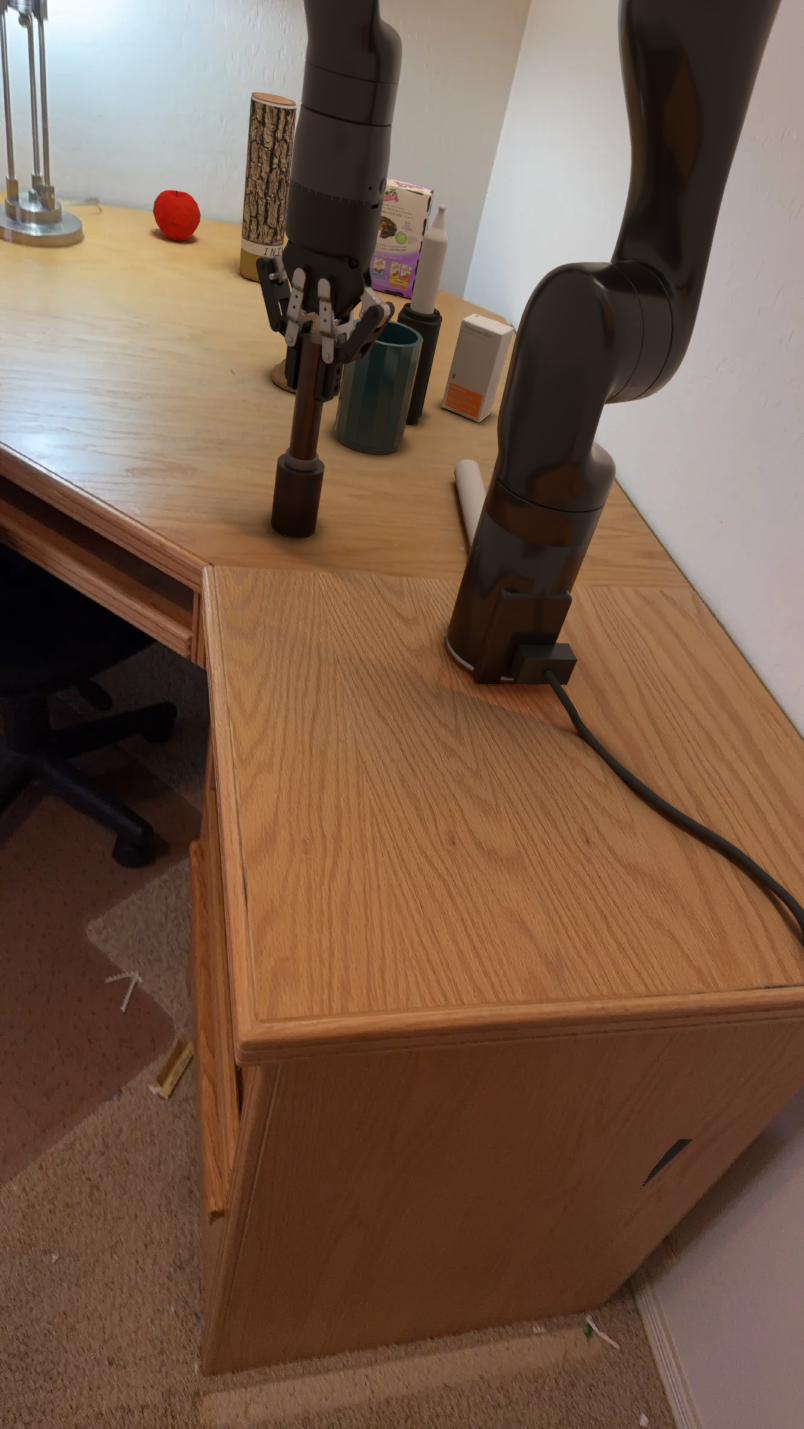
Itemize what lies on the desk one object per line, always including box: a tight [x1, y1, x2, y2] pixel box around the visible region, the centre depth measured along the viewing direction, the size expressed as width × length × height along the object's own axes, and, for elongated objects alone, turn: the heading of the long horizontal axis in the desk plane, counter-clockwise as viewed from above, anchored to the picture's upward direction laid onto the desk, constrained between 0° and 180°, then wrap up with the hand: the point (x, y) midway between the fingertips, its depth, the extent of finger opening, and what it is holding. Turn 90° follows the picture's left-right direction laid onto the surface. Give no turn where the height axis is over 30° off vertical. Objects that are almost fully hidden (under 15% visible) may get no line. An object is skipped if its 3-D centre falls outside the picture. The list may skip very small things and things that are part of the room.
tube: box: [453, 458, 487, 550], centre depth 94 cm, size 3×3×25 cm
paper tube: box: [238, 91, 298, 283], centre depth 138 cm, size 7×7×25 cm
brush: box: [270, 333, 326, 539], centre depth 84 cm, size 5×5×19 cm
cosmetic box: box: [440, 312, 515, 423], centre depth 117 cm, size 6×4×12 cm
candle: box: [396, 203, 449, 426], centre depth 108 cm, size 5×5×25 cm
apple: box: [152, 189, 202, 242], centre depth 151 cm, size 8×8×7 cm
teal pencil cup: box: [333, 317, 423, 455], centre depth 104 cm, size 8×8×13 cm
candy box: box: [370, 177, 435, 299], centre depth 150 cm, size 14×6×16 cm, turn 82°
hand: (310, 392), depth 81 cm, fingers closed on brush, 2 cm apart
